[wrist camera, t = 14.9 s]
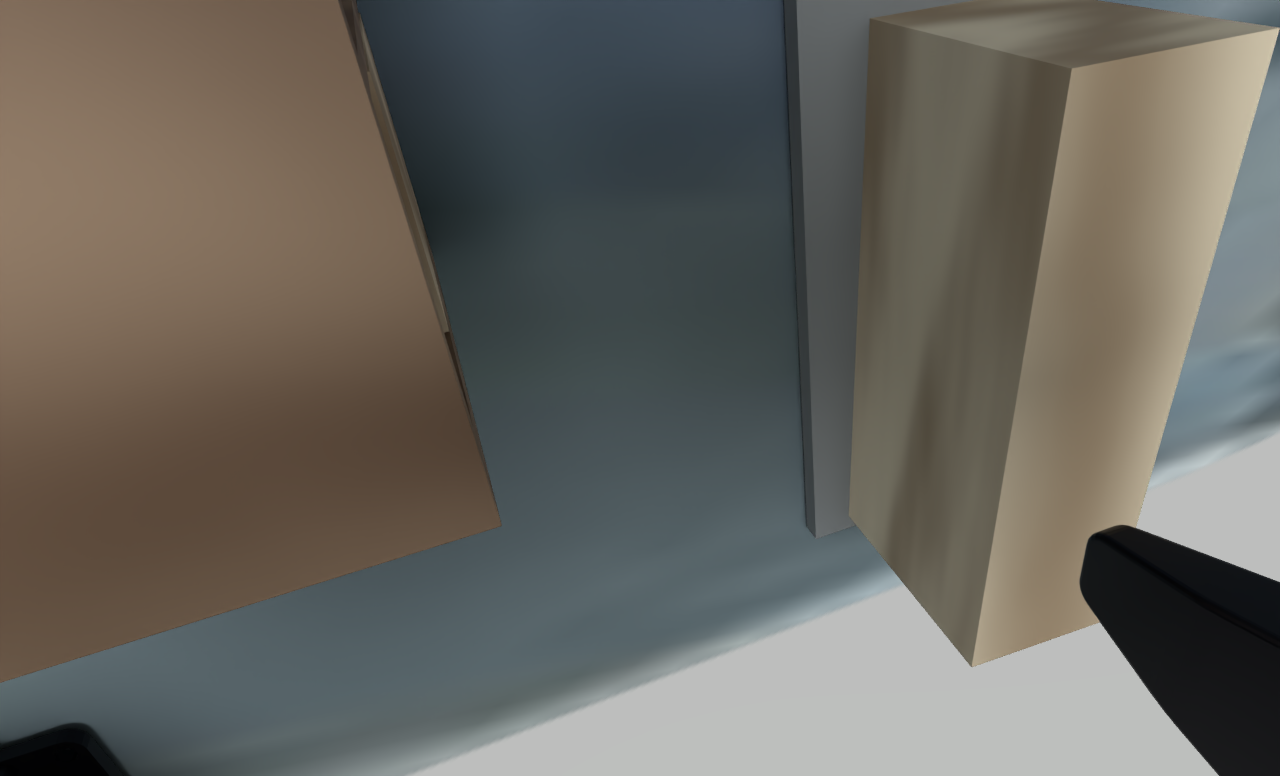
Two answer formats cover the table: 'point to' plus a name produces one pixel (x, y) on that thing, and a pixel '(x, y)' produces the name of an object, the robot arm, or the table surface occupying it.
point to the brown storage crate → (210, 322)
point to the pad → (829, 228)
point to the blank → (1031, 287)
